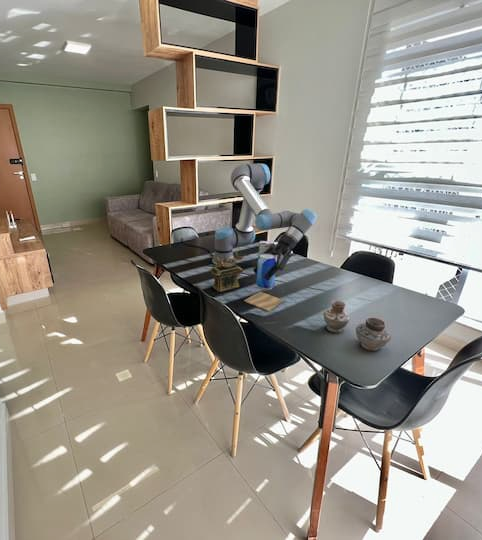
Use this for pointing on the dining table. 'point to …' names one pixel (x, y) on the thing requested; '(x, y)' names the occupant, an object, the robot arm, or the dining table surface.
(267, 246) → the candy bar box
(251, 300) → the corner mat
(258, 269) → the beer can
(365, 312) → the dining table surface
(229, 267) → the decorative box
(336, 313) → the pottery
